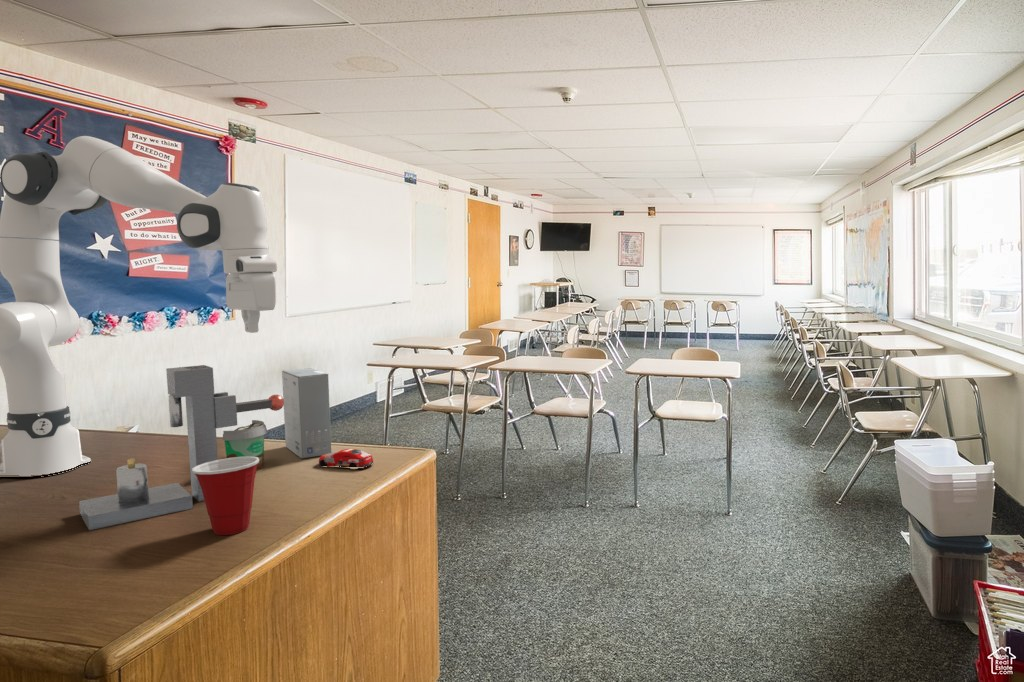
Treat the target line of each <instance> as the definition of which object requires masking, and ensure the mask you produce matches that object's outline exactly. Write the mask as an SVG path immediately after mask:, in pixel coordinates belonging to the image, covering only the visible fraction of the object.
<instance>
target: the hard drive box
mask: <svg viewBox="0 0 1024 682" xmlns="http://www.w3.org/2000/svg"><path fill="white" fill-rule="evenodd" d="M281 379H282V395H283V396H282V398H283V399H284V406H283V416H284V417H283V418H284V422H283V423H284V434H285V436H284V439H285V447H286V448H287V449H289V451H292V453H294V454H295V455H296V456H297V457H298V458H300V459H306V458H311V457H312V458H313V457H321V456H322V455H325V454H329V453H333V452H332V432H331V431H332V429H331V408H330V407H331V406H330V385H329V373H327V372H324V371H321V370H318V369H314V368H307V367H306V368H298V369H297V368H296V369H286V370H285V369H284V370H281Z"/></svg>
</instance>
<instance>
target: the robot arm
mask: <svg viewBox="0 0 1024 682" xmlns="http://www.w3.org/2000/svg"><path fill="white" fill-rule="evenodd" d="M0 183H1V187H2V190H3V191H4V193H5V195H4V197H3V199H2V200H3V201H2V206H1V211H0V274H1V275H2V277H3V278H4V279H5V280H6V281H7V282H8V283H9V284H10V287H11V289H12V292H13V294H14V295H13V296H14V298H15V301H10V302H3V303H0V369H1V370H2V374H3V377H4V381H5V382H4V383H5V387H6V388H5V389H6V394H7V407H8V412H7V413H6V423H7V429H8V432H7V434H6V435H4V437H3V438H2V439H1V442H0V455H1V456H0V462H1V463H0V475H19V476H31V475H42V474H50V473H55V472H60V471H64V470H68V469H71V468H74V467H76V466H78V465H80V464H83V463H87V462H90V461H91V462H92V459H91V457H88V456H86V455H83V453H82V445H81V438H80V431H79V429H78V428H76V427H75V426H73V425H72V424H71V411H70V406H68V402H67V389H66V379H65V373H64V372H63V370H61V369H60V368H59V367H58V366H56V364H55V362H54V360H53V358H52V356H51V354H50V350H49V349H50V347H55V346H58V345H61V344H63V343H65V342H67V341H69V340H70V339H72V338H73V337H75V335H76V334H77V333H78V331H79V329H80V323H81V321H80V317H79V315H78V312H77V311H76V309H75V308H74V307H73V306H72V305H71V304H70V303H69V300H68V297H67V294H66V291H65V288H64V285H63V281H62V280H63V279H62V275H61V263H60V262H61V260H60V256H61V255H60V233H59V232H60V229H59V224H60V219H61V217H62V216H63V214H65V213H67V212H68V213H70V214H71V215H73V216H76V215H80V214H82V213H85V212H89V211H93V210H96V209H100V208H102V207H103V206H104V205H105V204H106V203H107V202H108V201H109V202H113V203H115V204H118V205H121V206H125V207H129V208H135V209H143V210H153V211H163V212H166V213H167V212H168V213H173V214H176V215H178V216H177V221H176V229H177V234H178V236H179V237H180V240H181V242H183V244H184V245H186V246H188V247H189V248H192V249H197V250H202V251H205V250H208V251H221V252H222V262H223V273H224V274H227V276H226V278H225V299H226V306H227V309H229V310H236V311H237V310H238V311H241V317H242V320H243V323H244V331H245V332H246V333H252V334H253V333H255V334H257V333H258V332H259V329H260V328H259V322H260V317H261V311H262V312H264V311H273V310H275V307H276V304H277V281H276V275H275V272H277V271H278V266H277V265H278V264H277V261H276V260H275V259H274V258H272V257H271V254H270V250H269V245H268V244H269V243H268V241H267V237H266V236H267V230H268V221H267V212H266V205H265V199H264V197H263V194H262V192H261V191H260V189H259V188H257V187H255V186H253V185H247V184H241V183H234V182H224V183H221V184H220V185H219V187H218V188H217V189H216V191H215V192H213V193H212V194H210V195H206V194H204V193H202V192H200V191H198V190H196V189H194V188H192V187H189V186H188V185H185V184H183V183H181V182H179V181H178V180H176V179H175V178H174V177H173V178H172V177H171V176H169V175H168V174H167V173H164V172H162V171H161V170H159V169H158V168H156V167H154V166H153V165H151V164H150V163H148V162H146V161H145V160H143V159H142V158H139V156H136V155H135V154H133V153H131V152H130V151H127V150H126V149H124V148H123V147H120V146H118V145H117V144H113V143H111V142H109V141H106V140H103V139H100V138H97V137H93V136H90V135H81V136H76V137H75V138H73V139H71V140H70V141H69V142H68V143H67V144H66V146H65V147H64V149H63V151H62V153H61V154H59V155H51V154H50V153H49V152H47V151H39V152H29V153H27V152H26V153H18V154H14V155H11V156H10V157H9V158H7V159H6V160H5V161H4V163H3V165H2V166H1V170H0Z"/></svg>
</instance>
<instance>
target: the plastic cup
mask: <svg viewBox="0 0 1024 682" xmlns="http://www.w3.org/2000/svg"><path fill="white" fill-rule="evenodd" d="M258 462H259V458H258V457H234V458H227V457H226V458H220V459H218V460H215V461H211V462H207V463H204V464H201V465H198V466H196V467H194V468H192V471H193V473H195V475H196V477H197V478H198V481H199V483H200V486H201V489H202V493H203V496H204V504H205V508H206V511H207V515H208V517H209V520H210V526H211V530H212V531H213V533H214V534H216V535H220V536H229V535H236V534H239V533H242V532H244V531H246V530H247V529H248V528H249V525H250V519H251V514H252V513H251V511H252V506H253V497H254V489H255V479H256V473H257V471H256V467H257V465H258Z"/></svg>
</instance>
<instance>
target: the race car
mask: <svg viewBox="0 0 1024 682" xmlns="http://www.w3.org/2000/svg"><path fill="white" fill-rule="evenodd" d="M372 463H373V464H374V458H373V454H370V453H369V452H366V451H363V450H360V449H355V448H345V449H341V450H340V451H337V452H332V453H329V454H325V455H320V456H319V459H318V465H319V466H320V467H321V466H339V467H340V466H341V467H366V466H368V467H370V466H372V465H373V464H372ZM371 464H372V465H371ZM369 465H370V466H369ZM366 468H367V467H366Z"/></svg>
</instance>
